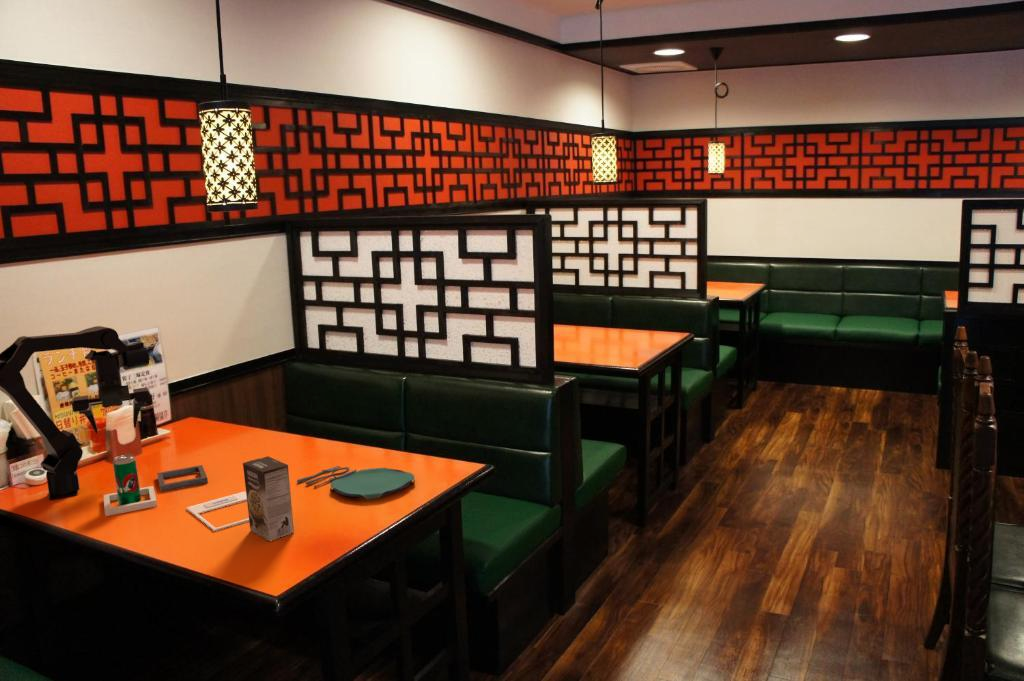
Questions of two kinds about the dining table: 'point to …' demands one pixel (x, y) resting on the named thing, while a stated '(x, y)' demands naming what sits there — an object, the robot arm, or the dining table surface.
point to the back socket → (183, 483)
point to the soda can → (126, 479)
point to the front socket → (132, 506)
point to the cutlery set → (364, 481)
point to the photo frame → (218, 504)
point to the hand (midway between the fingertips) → (116, 430)
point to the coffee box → (268, 498)
